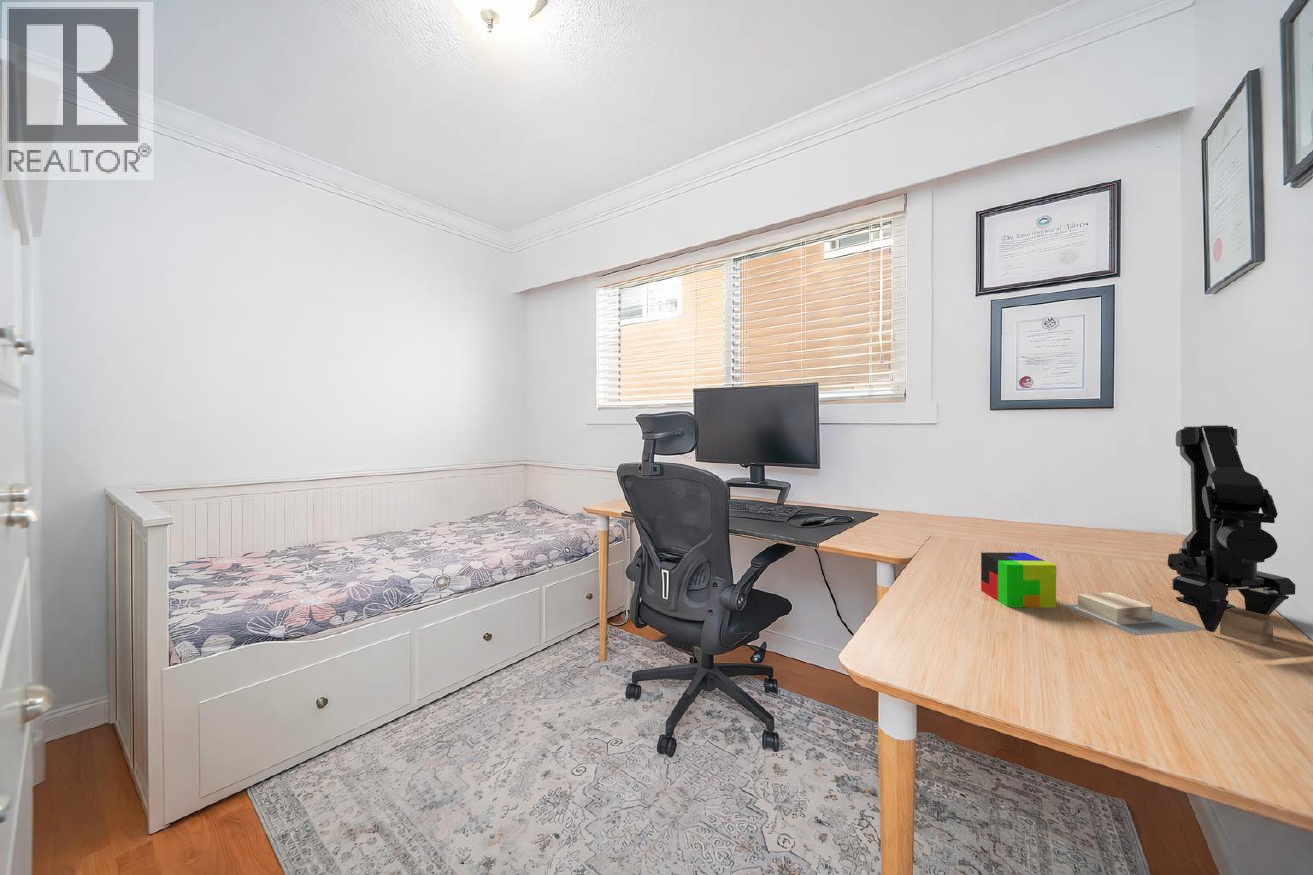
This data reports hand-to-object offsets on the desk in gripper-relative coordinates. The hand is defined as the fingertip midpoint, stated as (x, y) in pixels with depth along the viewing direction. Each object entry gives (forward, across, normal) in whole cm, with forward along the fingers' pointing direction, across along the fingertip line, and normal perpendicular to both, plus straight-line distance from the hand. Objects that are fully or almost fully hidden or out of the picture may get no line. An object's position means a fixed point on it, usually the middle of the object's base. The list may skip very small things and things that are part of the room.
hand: (1231, 629), depth 91 cm
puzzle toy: (+2, +24, -22) cm, 33 cm away
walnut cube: (+1, -1, +2) cm, 2 cm away
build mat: (+1, +10, -10) cm, 14 cm away
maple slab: (+1, +12, -11) cm, 16 cm away
